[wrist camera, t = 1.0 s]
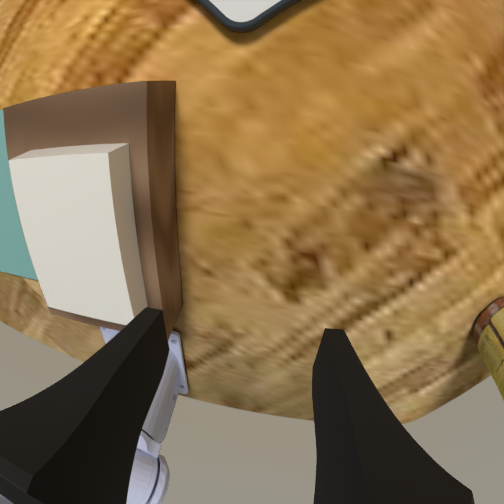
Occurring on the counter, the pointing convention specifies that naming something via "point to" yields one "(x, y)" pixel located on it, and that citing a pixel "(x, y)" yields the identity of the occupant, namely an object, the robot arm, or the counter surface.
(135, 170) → the block
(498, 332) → the sauce bottle
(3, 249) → the mat
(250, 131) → the counter surface
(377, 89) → the counter surface
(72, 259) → the tile
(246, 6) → the phone case
